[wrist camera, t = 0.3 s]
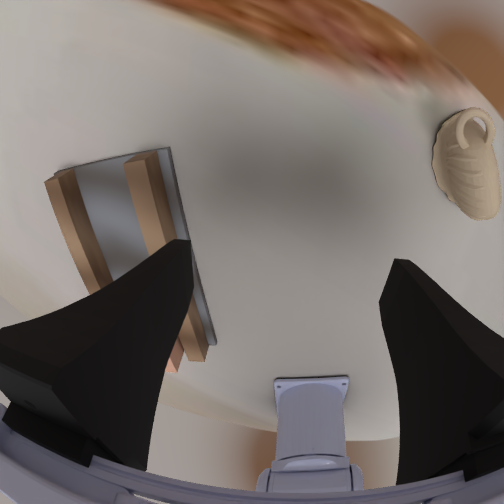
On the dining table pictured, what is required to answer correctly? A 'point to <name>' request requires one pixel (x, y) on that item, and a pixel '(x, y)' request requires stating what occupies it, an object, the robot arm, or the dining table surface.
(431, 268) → the dining table surface
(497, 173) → the decorative ornament
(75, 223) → the walnut chute
